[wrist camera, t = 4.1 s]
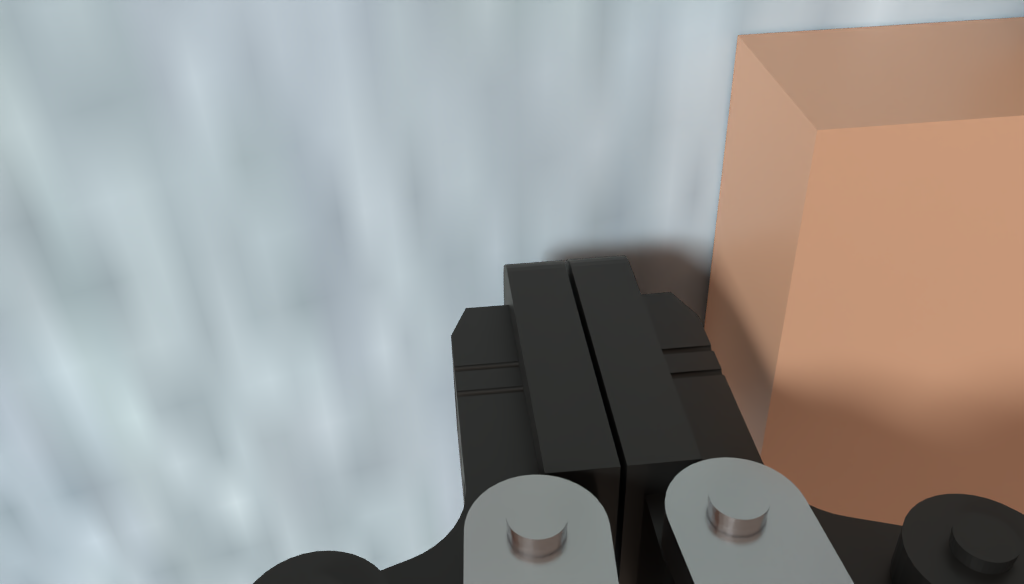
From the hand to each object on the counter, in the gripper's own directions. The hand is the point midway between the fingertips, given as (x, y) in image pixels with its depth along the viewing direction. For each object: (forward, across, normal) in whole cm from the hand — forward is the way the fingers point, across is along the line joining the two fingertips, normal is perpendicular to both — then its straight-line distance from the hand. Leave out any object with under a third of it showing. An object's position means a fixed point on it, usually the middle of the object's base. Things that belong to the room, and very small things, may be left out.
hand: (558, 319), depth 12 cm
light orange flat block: (+1, -6, 0) cm, 6 cm away
